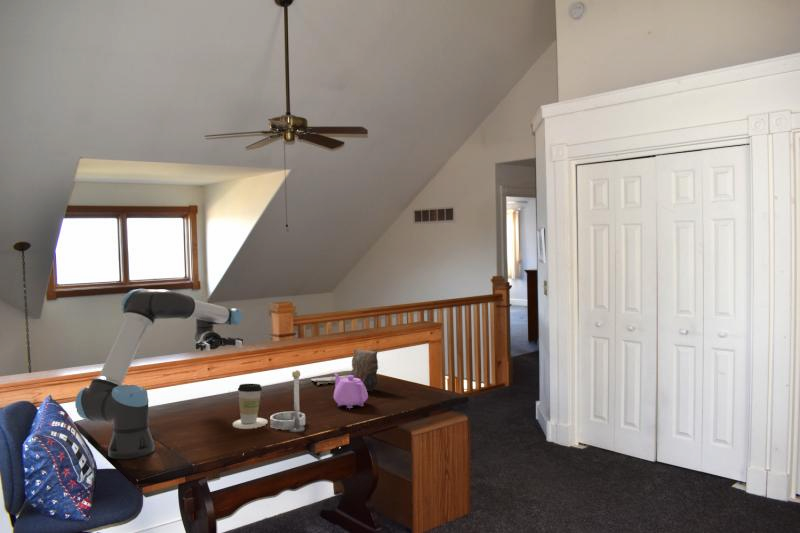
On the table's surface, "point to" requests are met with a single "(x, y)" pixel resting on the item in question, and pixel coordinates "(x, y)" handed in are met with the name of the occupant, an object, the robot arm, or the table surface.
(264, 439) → the table surface
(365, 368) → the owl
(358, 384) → the teapot
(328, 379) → the newspaper
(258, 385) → the coffee cup
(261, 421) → the cream pad
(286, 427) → the ring stand
